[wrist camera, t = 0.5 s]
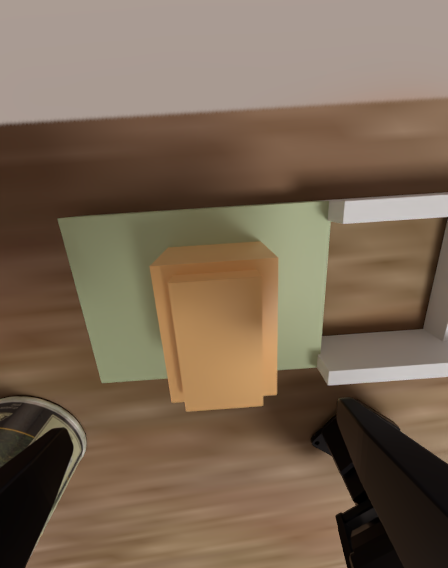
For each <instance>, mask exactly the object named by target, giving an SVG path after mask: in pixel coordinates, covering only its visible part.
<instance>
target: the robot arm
mask: <svg viewBox="0 0 448 568" xmlns="http://www.w3.org/2000/svg"><path fill="white" fill-rule="evenodd" d="M311 442H312V445H313V446H315V447H316V448H318V449H320V450H322V451H324V452H326V453H327V454H329V455H331V456H332V457H333V459H334V462H335V464H336V466H337V468H338V470H339V473H340V474H341V476H342V478H343V480H344V482H345V485H346V487H347V489H348V491H349V493H350V495H351V498H352V500H353V501H354V503H355V505H356V506H354V507H353V508H351V509H349V510H347V511H346V512H344V513H339V514H337V515H336V521H337V525H338V531H339V536H340V540H341V544H342V548H343V552H344V556H345V560H346V564H347V568H448V464H447V463H446V462H444V461H443V460H441V459H440V458H438V457H437V456H436V455H434V454H433V453H431V452H430V451H428V450H427V449H425V448H424V447H423V446H421V445H420V444H418V443H417V442H415V441H414V440H412V439H411V438H409V437H408V436H407V435H405V434H404V433H402V432H401V431H400V428H399V427H398V426H397V425H396V424H395V423H393V422H392V421H390V420H389V419H387V418H385V417H384V416H382V415H381V414H379V413H378V412H376V411H374V410H373V409H371V408H370V407H368V406H366V405H365V404H363V403H362V402H360V401H359V400H356V399H353V398H351V397H346V398H339V399H338V401H337V414H336V415H335V416H334V417H333V418H332V419H331V420H330V421H329V422H328V423H327V424H326V425H325V426H323V427H322V428H321V429H320V430H319V431H318V432H317V433H316V434H315V435H314V436H313V437H312V438H311ZM73 449H74V446H73V442H72V440H71V437H70V435H69V432H68V430H67V429H66V428H65V427H60V428H53V429H51V430H49V431H48V432H46V433H45V434H44V435H42V436H41V437H40V438H38V439H37V440H36V441H34V442H33V443H32V444H30V445H29V446H28V447H27V448H25V449H24V450H23V451H21V452H20V453H19V454H17V455H16V456H15V457H13V458H12V459H11V460H9V461H8V462H7V463H5V464H4V465H3V466H1V467H0V568H25V567H26V564H27V562H28V560H29V558H30V556H31V554H32V551H33V549H34V547H35V545H36V543H37V541H38V538H39V536H40V534H41V532H42V530H43V528H44V525H45V523H46V521H47V519H48V517H49V514H50V512H51V510H52V507H53V505H54V502H55V500H56V497H57V495H58V492H59V489H60V486H61V484H62V481H63V478H64V476H65V473H66V470H67V468H68V465H69V462H70V460H71V457H72V454H73Z"/></svg>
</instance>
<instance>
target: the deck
mask: <svg viewBox="0 0 448 568" xmlns="http://www.w3.org/2000/svg"><path fill="white" fill-rule="evenodd" d="M438 217H448V192H443V193H428V194H412V195H397V196H381V197H366V198H350V199H335V200H319V201H304V202H288V203H273V204H257V205H241V206H226V207H210V208H195V209H179V210H164V211H148V212H133V213H117V214H102V215H86V216H74V217H66V218H58V223H59V227H60V230H61V234H62V238H63V241H64V245H65V249H66V252H67V256H68V260H69V264H70V267H71V271H72V275H73V278H74V282H75V286H76V289H77V293H78V297H79V301H80V304H81V308H82V312H83V315H84V319H85V323H86V326H87V330H88V334H89V337H90V341H91V345H92V349H93V352H94V356H95V360H96V363H97V367H98V371H99V374H100V378H101V382H102V383H111V382H125V381H138V380H152V379H166V378H168V377H167V371H166V365H165V359H164V352H163V346H162V340H161V334H160V328H159V322H158V316H157V310H156V304H155V297H154V291H153V285H152V279H151V273H150V267H149V266H150V265H151V264H152V263H153V262H154V261H155V260H156V259H157V258H158V257H159V256H160V255H161V254H162V253H163V252H164V251H165V250H166V249H167V248H168V247H181V246H196V245H211V244H226V243H242V242H257V241H261V242H262V243H263V244H264V245H265V246H266V247H267V248H268V249H270V250H271V251H272V252H273V253H274V254H275V255H276V256H277V257H278V346H277V370H289V369H302V368H316V367H317V368H318V370H319V372H320V373H321V375H322V377H323V378H324V380H325V382H326V383H327V385H342V384H355V383H369V382H382V381H396V380H409V379H423V378H436V377H448V220H447V225H446V229H445V234H444V238H443V243H442V247H441V251H440V256H439V260H438V265H437V269H436V274H435V278H434V282H433V287H432V291H431V296H430V300H429V305H428V309H427V313H426V318H425V322H424V327H423V329H415V330H401V331H387V332H373V333H359V334H345V335H332V336H322V327H323V314H324V301H325V288H326V275H327V262H328V250H329V237H330V224H331V222H336V223H342V224H347V223H362V222H377V221H392V220H407V219H423V218H438Z"/></svg>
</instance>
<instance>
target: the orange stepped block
mask: <svg viewBox="0 0 448 568" xmlns="http://www.w3.org/2000/svg"><path fill="white" fill-rule="evenodd" d="M149 267H150V273H151V279H152V285H153V291H154V297H155V304H156V310H157V316H158V322H159V328H160V334H161V340H162V346H163V352H164V359H165V365H166V371H167V377H168V383H169V389H170V395H171V401H172V403H175V402H185V408H186V412H189V411H203V410H216V409H229V408H243V407H256V406H263V396H269V395H277V346H278V257H277V256H276V255H275V254H274V253H273V252H272V251H271V250H270V249H268V248H267V247H266V246H265V245H264V244H263V243H262V242H261V241H257V242H242V243H226V244H211V245H196V246H181V247H168V248H167V249H166V250H165V251H164V252H163V253H162V254H161V255H160V256H159V257H158V258H157V259H156V260H155V261H154V262H153V263H152V264H151V265H150V266H149Z"/></svg>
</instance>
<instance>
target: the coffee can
mask: <svg viewBox="0 0 448 568" xmlns="http://www.w3.org/2000/svg"><path fill="white" fill-rule="evenodd" d="M60 427H65V428H66V429H67V430H68V432H69V435H70V437H71V440H72V442H73V446H74V449H73V454H72V457H71V460H70V462H69V465H68V468H67V470H66V473H65V476H64V478H63V481H62V484H61V486H60V489H59V492H58V495H57V497H56V500H55V502H54V505H53V507H52V510H51V512H50V514H49V517H48V519H47V521H46V523H45V525H44V528H43V530H42V532H41V534H40V536H39V538H38V541H39V539H40V537H41V536H42V534H43V531H44V529H45V527H46V525H47V523H48V522H49V520H50V518H51V516H52V514H53V512H54V510H55V508H56V506H57V504H58V502H59V500H60V498H61V496H62V494H63V492H64V490H65V488H66V486H67V484H68V483H69V481H70V479H71V477H72V475H73V473H74V471H75V469H76V467H77V465H78V464H79V462H80V460H81V459H82V458H83V456H84V453H85V451H86V445H87V442H86V435H85V433H84V431H83V429H82V427H81V425H80V424H79V422H78V421H77V420H76V419H75V418H74V417H73V416H72V415H71V414H70V413H69V412H67V411H66V410H64V409H63V408H62V407H60V406H58V405H55V404H53V403H51V402H49V401H46V400H43V399H39V398H34V397H27V396H12V397H7V398H2V399H0V467H1V466H3V465H4V464H5V463H7V462H8V461H9V460H11V459H12V458H13V457H15V456H16V455H17V454H19V453H20V452H21V451H23V450H24V449H25V448H27V447H28V446H29V445H30V444H32V443H33V442H34V441H36V440H37V439H38V438H40V437H41V436H42V435H44V434H45V433H46V432H48V431H49V430H51V429H53V428H60ZM38 541H37V543H38ZM37 543H36V545H37ZM36 545H35V547H36ZM35 547H34V549H35ZM34 549H33V551H34ZM33 551H32V553H33ZM31 555H32V554H31ZM30 557H31V556H30ZM29 559H30V558H29Z"/></svg>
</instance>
